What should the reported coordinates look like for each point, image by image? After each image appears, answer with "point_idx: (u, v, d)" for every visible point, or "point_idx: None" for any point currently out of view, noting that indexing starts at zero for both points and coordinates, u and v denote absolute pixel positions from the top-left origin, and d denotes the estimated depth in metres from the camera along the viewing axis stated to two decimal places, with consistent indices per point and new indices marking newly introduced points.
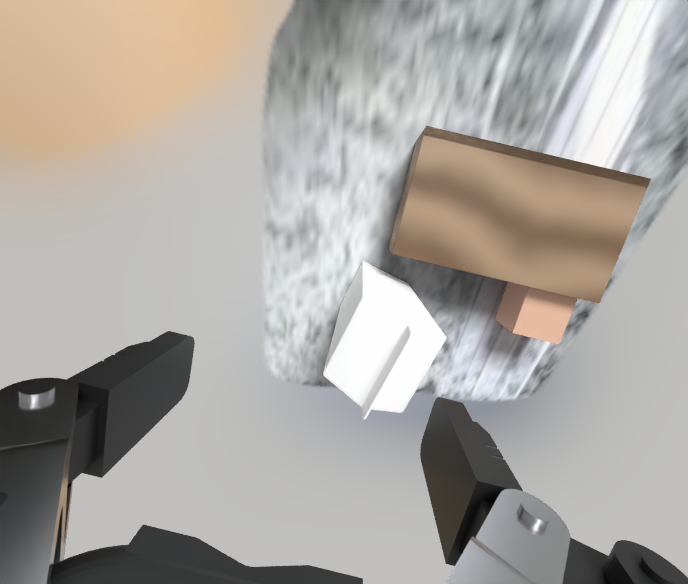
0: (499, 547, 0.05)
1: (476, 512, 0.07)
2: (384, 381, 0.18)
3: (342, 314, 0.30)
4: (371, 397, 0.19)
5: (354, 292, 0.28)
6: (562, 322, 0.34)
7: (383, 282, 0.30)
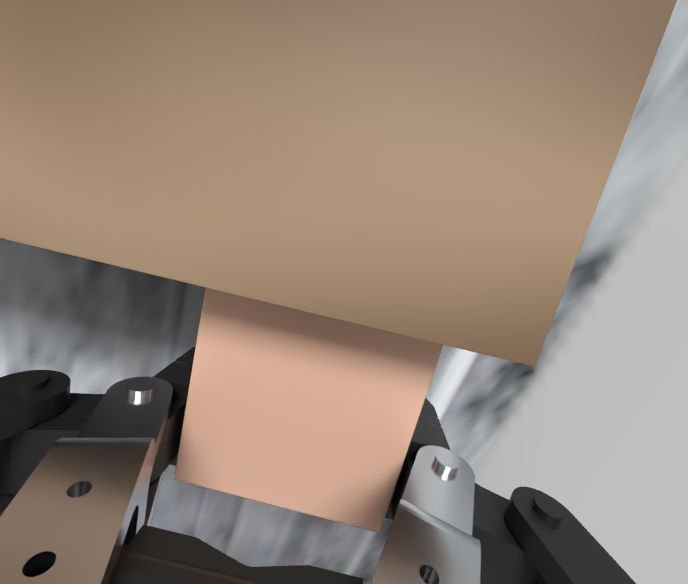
0: (422, 501, 0.06)
1: (403, 467, 0.08)
2: None
3: None
4: None
5: None
6: (385, 443, 0.07)
7: None
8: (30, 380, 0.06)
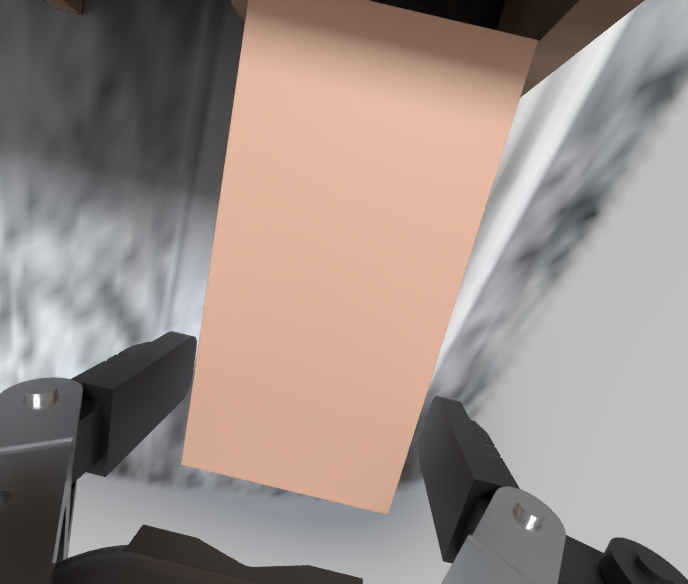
0: (495, 544, 0.05)
1: (473, 510, 0.07)
2: None
3: None
4: None
5: None
6: (392, 424, 0.07)
7: None
8: None
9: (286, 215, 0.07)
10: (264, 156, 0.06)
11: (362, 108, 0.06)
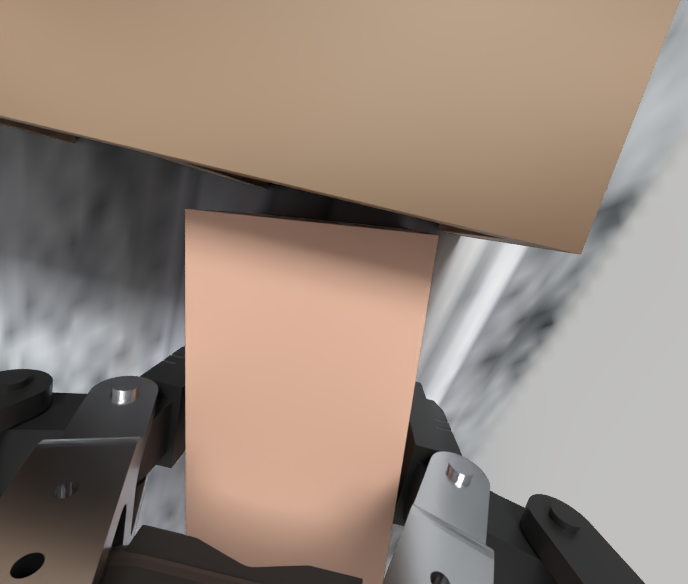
0: (434, 507, 0.06)
1: (415, 473, 0.08)
2: None
3: None
4: None
5: None
6: (366, 551, 0.08)
7: None
8: (11, 379, 0.06)
9: (244, 392, 0.07)
10: (218, 347, 0.07)
11: (296, 302, 0.07)
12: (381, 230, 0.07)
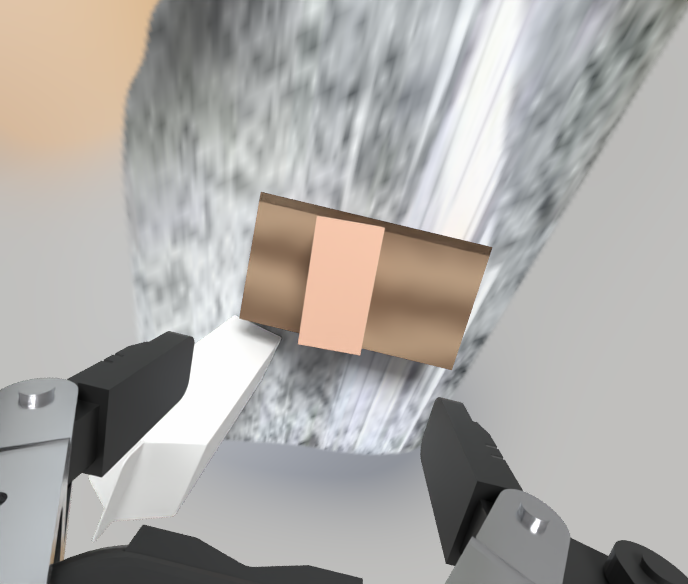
0: (499, 547, 0.05)
1: (476, 512, 0.07)
2: (106, 505, 0.17)
3: None
4: (107, 516, 0.18)
5: None
6: (359, 326, 0.26)
7: (218, 352, 0.29)
8: None
9: (326, 270, 0.25)
10: (320, 256, 0.25)
11: (344, 244, 0.25)
12: (369, 225, 0.24)
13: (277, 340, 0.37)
